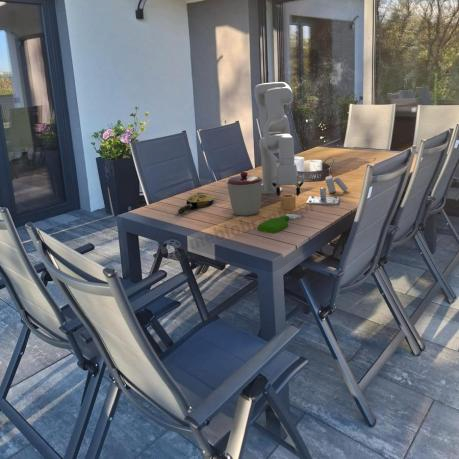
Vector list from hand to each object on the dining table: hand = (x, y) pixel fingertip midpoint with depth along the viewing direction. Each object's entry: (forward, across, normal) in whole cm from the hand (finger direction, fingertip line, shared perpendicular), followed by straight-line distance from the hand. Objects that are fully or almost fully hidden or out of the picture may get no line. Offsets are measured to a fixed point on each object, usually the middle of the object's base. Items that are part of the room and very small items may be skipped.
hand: (288, 195), depth 245 cm
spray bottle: (+8, +1, -26) cm, 27 cm away
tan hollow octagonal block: (+6, 0, +1) cm, 6 cm away
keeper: (+6, +16, +13) cm, 21 cm away
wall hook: (+6, +21, +33) cm, 39 cm away
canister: (+7, -19, -10) cm, 23 cm away
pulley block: (+6, -50, 0) cm, 51 cm away
